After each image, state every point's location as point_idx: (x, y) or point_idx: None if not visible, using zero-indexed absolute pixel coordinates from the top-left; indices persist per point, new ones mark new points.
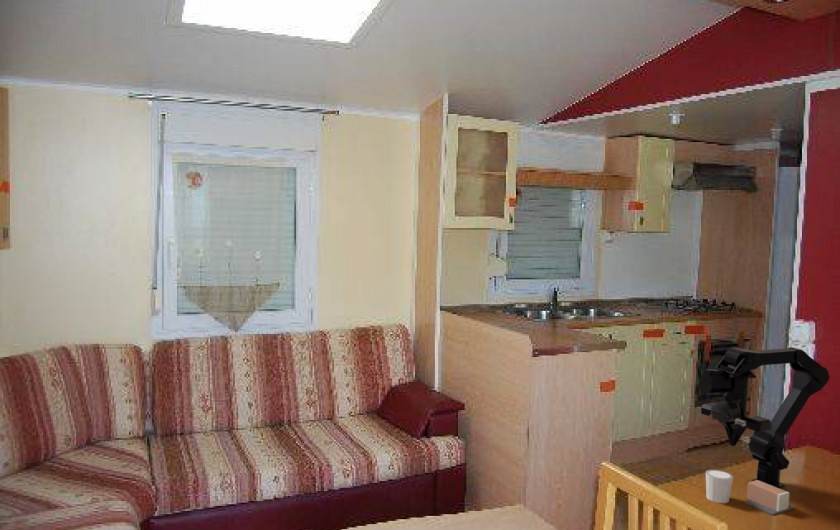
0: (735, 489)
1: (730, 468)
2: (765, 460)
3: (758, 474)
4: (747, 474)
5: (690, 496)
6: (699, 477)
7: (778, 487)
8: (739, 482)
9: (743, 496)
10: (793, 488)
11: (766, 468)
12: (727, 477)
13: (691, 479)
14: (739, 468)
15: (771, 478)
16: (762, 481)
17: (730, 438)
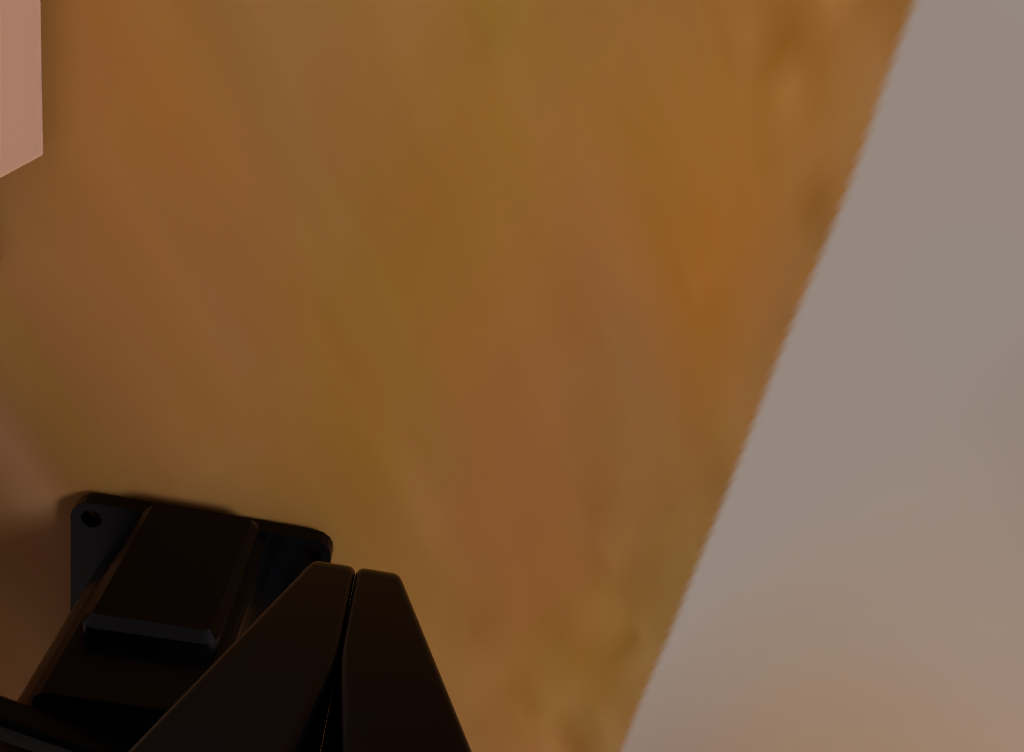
0: (330, 171)
1: (633, 688)
2: (1, 742)
3: (209, 583)
4: (454, 673)
5: None
6: (816, 182)
7: (75, 583)
8: (407, 423)
9: (140, 10)
10: (12, 678)
11: (78, 671)
12: None
13: (887, 9)
14: (570, 743)
15: (83, 608)
16: (171, 530)
17: (362, 724)
